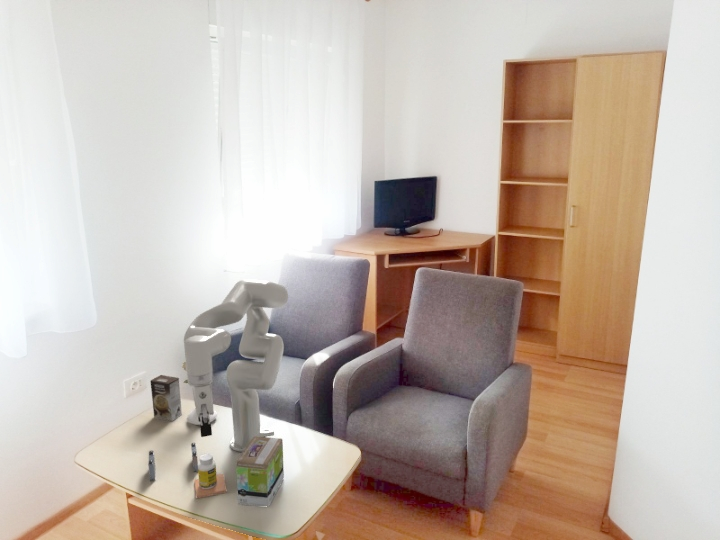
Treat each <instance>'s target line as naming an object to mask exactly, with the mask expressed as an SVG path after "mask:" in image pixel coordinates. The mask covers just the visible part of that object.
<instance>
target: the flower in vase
mask: <svg viewBox="0 0 720 540" xmlns="http://www.w3.org/2000/svg"><path fill="white" fill-rule="evenodd" d="M181 368H183V370H184V371H185V372H187V369H186V361H184V362H183V363H182V365H181ZM183 384H188V379H185V380H184V381H183ZM209 416H210V422H211V423H213V421H215V420H216V418H217V416H218V413H217V411H216V410H215V409H214V414H213V415H210V414H209ZM186 421H187V422H188V423H189V424H192V425H196V426H200V424H201V422H199V420H198V416H197V412H196V407H195V408H194V409H192V410H191V411H190V412H189V413H188V414H187V416H186Z"/></svg>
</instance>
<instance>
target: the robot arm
mask: <svg viewBox="0 0 720 540" xmlns="http://www.w3.org/2000/svg"><path fill="white" fill-rule="evenodd" d="M288 300H289V293H288V289H287V288H286V287H284V285H283V284H279V283H275V282H273V281H269V280H262V279H260V280H258V279H241V280H238V281H237V282H236V283H235V284H234V286H233V287H232V288H231V290H230V291H229V293H228V294H227V295H226V297H225V298H224V299H223V301H222V302H221V303H220V304H217V305H216V306H213V307H211V308H209V309H208V310H206V311H204V312H201V313H200V314H199V315H197V316H196V317H195V318H194V320H193V321H192V322H191V323H190V325H189V326H188V327H187V328H186V331H185V333H184V336H183V347H184V348H183V349H184V355H185V356H184V357H185V362H186V369H187V371H186V376H187V377H186V378H187V379H188V383H187V384H188V385H189V386H190V387H192V395H193V400H194V401H193V402H194V407H195V408H196V412H197V416H198V420H199V422H201V424H200V425H199V429H200V437H201V438H206V437H210V436H212V435H213V432H212V422H210V416H209V414H210V415H213V414H214V410H215V409H214V401H213V391H212V384H211V383H213V382H214V380H215V379H214V369H213V367H214V366H213V357H215V356H217V355H220V354H222V353H225V352H226V351H227V350H228V349H229V347H230V346H231V343H232V336H231V334H230V333H229V332H228V330H225V329H222V328H220V327H224V326H230V325H233V324H236V323H239V322H241V320H242V319H243V318H244V317H245V315H246V321H245V325H244V329H243V332H242V334H241V335H242V336H241V339H240V343H239V346H238V353H239V354H240V355H241V357H243V358H245V359H236V360H234V361H231V362H229V365H228V366H227V368H226V372H225V374H226V381H227V385H228V389H229V393H230V400H231V402H230V403H231V412H232V413H231V414H232V415H231V416H232V429H233V436H232V438H231V439H230V441H229V446H230V448H231V449H232V450H233V451H236V452H240V453H242V452H243V451H244V450H245V448H246V447H247V445H248V444H249V443H250V441H251V440H252V438H253V437H254V436H257V437H273V436H275V430H273V429H272V430H270V428H264V429H263V428H261V418H260V417H261V416H260V415H261V414H260V400H259V399H260V398H259V393H258V392H257V390H260V391H269V390H272V389H273V387H274V386H275V384H276V381H277V378H278V375H279V374H278V373H279V370H280V366H281V363H282V360H283V359H282V358H283V356H284V349H285V347H284V346H285V345H284V341H283V340H284V339H283V338H282V337H281V335H279V334H275V333H269V330H270V329H269V328H270V323H271V322H270V319H269V316H268V315H267V313H266V311H265V310H264V308H267V309H268V308H269V309H283V308H284V307H285V306H286V305H287V303H288ZM246 359H250V360H246ZM255 360H259V361H255ZM261 360H262V361H261ZM187 379H186V380H187Z"/></svg>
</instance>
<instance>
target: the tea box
mask: <svg viewBox="0 0 720 540" xmlns="http://www.w3.org/2000/svg"><path fill="white" fill-rule="evenodd" d="M283 443H284V442H283V438H278V437H269V436H267V437H257V436H254V437H253V438H252V440H251V441H250V443H249V444H248V445H247V447H246V448H245V450H244V451H243V452H241V453H240V455H239V456H238V458H237V460H236V462H235V463H236V464H235V465H236V468H235V469H236V482H237V483H236V485H237V487H236V488H237V489H236V490H237V504H238V505H242V506H243V505H244V506H249V505H252V506H251V507H258V506H267V507H266V508H269V506H270V505H271V503H272V501H273V499H274V497H275V496H274V495H276V494H277V492H278V490H279V489H280V486H281V485H280V484H282V483H281V482H283V481H282V480H284V479H283V478H284V477H285V472H284V449H283V447H284V446H283V445H284V444H283Z"/></svg>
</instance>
